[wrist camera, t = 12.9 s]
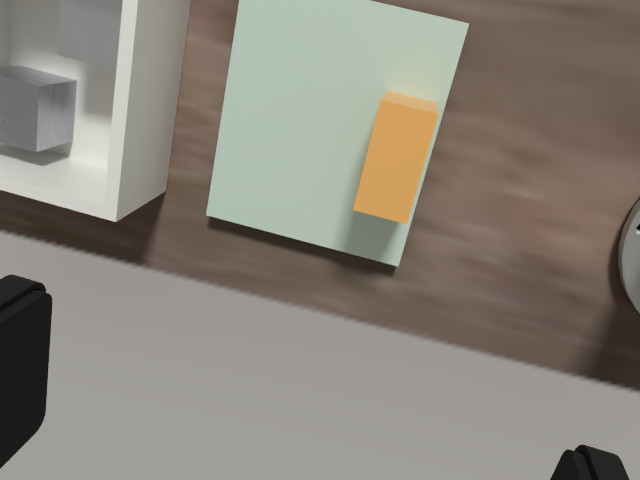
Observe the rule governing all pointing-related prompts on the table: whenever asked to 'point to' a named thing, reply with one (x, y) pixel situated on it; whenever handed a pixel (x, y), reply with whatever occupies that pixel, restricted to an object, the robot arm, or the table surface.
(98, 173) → the tub
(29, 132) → the part
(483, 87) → the table surface
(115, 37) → the part
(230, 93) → the lid
